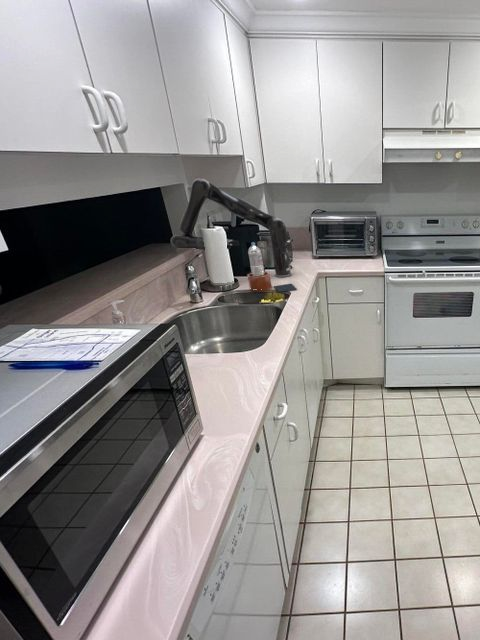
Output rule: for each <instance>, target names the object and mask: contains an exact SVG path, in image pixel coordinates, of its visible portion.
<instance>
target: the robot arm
mask: <svg viewBox="0 0 480 640" xmlns="http://www.w3.org/2000/svg"><path fill="white" fill-rule="evenodd" d="M190 188H191V189H190V195H189V200H188V202H187V205H186V208H185V210H184V213H183V215H182V217H181V220H180V222H179V226H178V230H179V231H180V232H181V235H180V234H176V235H173V236H171V238H170V244H171V245H172V247H174V248H175V247H176V248H175V249H178V248H196V249H199V250H198V251H205V247H204V242H203V238H202V236H203V235H200V236H196V235H193V234H194V231H195V228H196V225H197V223H198V219H199V215H200V212H201V210H202V207H203V205H204V203H205V201H207V200H208V199H209V200H210V201H212V202H215V203H217V204H218V205H220V206H221V207H222V208H224V209H225V210H227V211H228V212H230V213H231V214H232V215H235V216H237V217H239V218H240V219H243V220H245V221H249V222H252V223H255V224H258V225H260V226H261V227H263V228H265V229H267V230H268V231H269V236H270V246H271V253H272V259H273V265H274V271H275V272H274V274H275V277H277V278H287V277H290V276H292V272H291V270H292V268H293V266H292V264H290V261H292V260H293V259H292V258H291V260H290V259H289V258H290V254H289V248H288V247H289V246H288V236H287V235H288V234H287V227H286V224H285V222H284V221H283V220H282V219H280V218H278V217H276V216H273V215H272V214H268V213H266V212H264V211H262V210H261V209H259V208H257V207H256V206H255V205H254V204H251V203H250V202H248V201H246V200H244V199H243V198H240V197H238V196H236V195H234V194H232V193H230V192H227V191H225V190H223V189H221V188H219V187H217V186H216V185H214V184H213V183H211V181H208V180H207V179H205V178H202V177H199V178H196V179H194V180H193V181H192V183H191V187H190ZM231 246H240V241H239V240H234V238H233V239H229V238H227V249H226V250H230V249H231V248H232V247H231Z"/></svg>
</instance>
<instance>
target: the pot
mask: <svg viewBox="0 0 480 640" xmlns="http://www.w3.org/2000/svg"><path fill="white" fill-rule="evenodd" d="M264 272H265V276H261V277H252V272H249V273H247V274H246V276H247V281H248V287H249V290H250V291H251V292H256V293H260V292H266V291H269V290H270V289H272V288H273V287H272V281H271V274H270V272H268V271H264ZM250 288H251V289H250ZM253 289H257V290H253ZM261 289H262V290H261Z"/></svg>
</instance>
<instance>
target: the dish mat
mask: <svg viewBox="0 0 480 640" xmlns="http://www.w3.org/2000/svg"><path fill="white" fill-rule="evenodd" d="M273 288H274V289H275V290H276V292H278V293H279V294H280V293H286V292H292V291H293V292H294V291H298V290H297V288H296V287H295V286H294V284H292V283H286V284H278V285H274V286H273Z"/></svg>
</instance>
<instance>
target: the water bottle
mask: <svg viewBox="0 0 480 640" xmlns="http://www.w3.org/2000/svg"><path fill="white" fill-rule="evenodd" d="M247 254H248V259H249V264H250V271H251V272H250V273H252V277H261V276H265V272H266V271H265V265H264V261H263V257H262V256H263V255H262V254H263V253H262V250H261V248H260V247H259V246H258V245H256V242H254V241H253V242H251V245H250V247H249V248H248V250H247Z"/></svg>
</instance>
